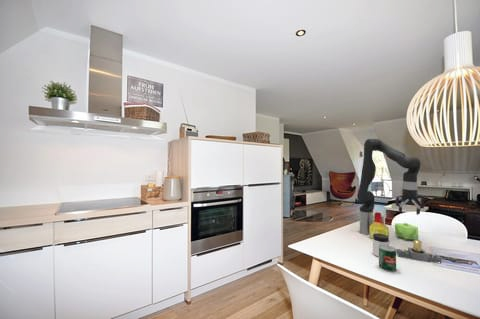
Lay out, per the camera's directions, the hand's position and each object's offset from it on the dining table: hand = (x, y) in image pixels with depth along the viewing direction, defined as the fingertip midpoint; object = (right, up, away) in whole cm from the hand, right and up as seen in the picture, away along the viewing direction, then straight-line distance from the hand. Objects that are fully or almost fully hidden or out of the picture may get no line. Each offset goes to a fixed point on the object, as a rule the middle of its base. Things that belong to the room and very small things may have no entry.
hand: (409, 213), depth 138 cm
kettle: (+14, -24, +21) cm, 35 cm away
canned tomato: (-29, -24, -22) cm, 44 cm away
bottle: (-7, -24, +19) cm, 32 cm away
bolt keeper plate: (-3, -24, -10) cm, 26 cm away
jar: (-22, -24, -6) cm, 33 cm away
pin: (-3, -24, -10) cm, 26 cm away
